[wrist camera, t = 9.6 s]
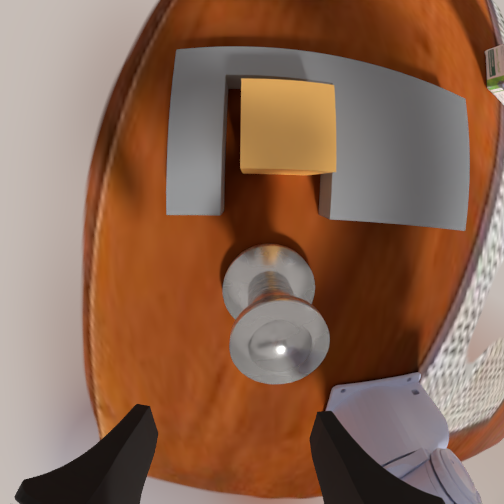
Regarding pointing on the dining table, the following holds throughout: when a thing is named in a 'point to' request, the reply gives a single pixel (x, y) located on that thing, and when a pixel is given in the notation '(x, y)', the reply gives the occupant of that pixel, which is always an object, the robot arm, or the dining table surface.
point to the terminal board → (347, 136)
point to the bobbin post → (274, 315)
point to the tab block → (287, 127)
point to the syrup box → (495, 71)
